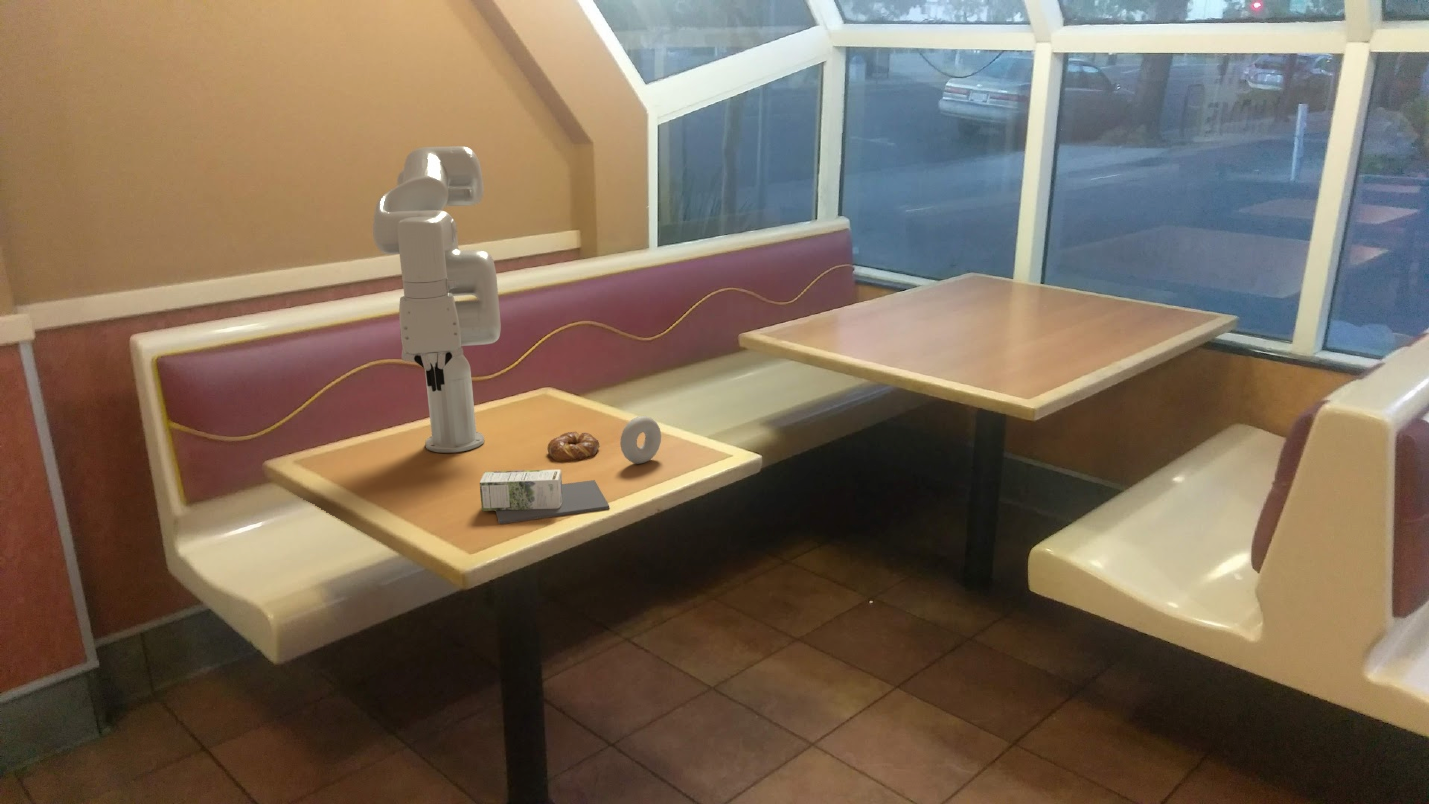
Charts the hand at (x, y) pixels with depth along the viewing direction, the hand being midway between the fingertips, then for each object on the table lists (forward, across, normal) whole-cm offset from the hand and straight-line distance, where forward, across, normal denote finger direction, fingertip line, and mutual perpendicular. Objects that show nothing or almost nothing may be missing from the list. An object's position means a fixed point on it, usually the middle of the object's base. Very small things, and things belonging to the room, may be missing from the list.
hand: (436, 388), depth 182 cm
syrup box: (+19, -6, +4) cm, 21 cm away
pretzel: (+24, -28, -20) cm, 42 cm away
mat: (+23, -18, +6) cm, 29 cm away
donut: (+23, -40, -9) cm, 47 cm away
